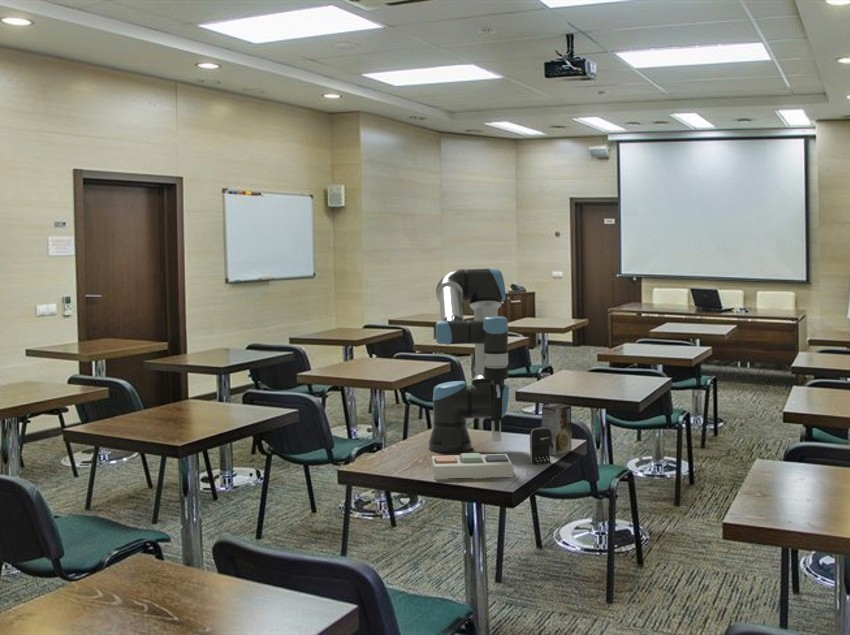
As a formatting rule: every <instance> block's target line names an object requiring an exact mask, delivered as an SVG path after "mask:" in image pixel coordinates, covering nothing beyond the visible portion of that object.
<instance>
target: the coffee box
mask: <svg viewBox="0 0 850 635" xmlns="http://www.w3.org/2000/svg"><path fill="white" fill-rule="evenodd" d="M543 427H545V428H547V429H550V430H551V433H552V444H550V446H549V455H551V456H558V455H562V454H566V453H569V452H571V451H572V450H573V449H572V405H569V404H564V403H558V402H557V403H553V404H549V405H548V404H547V405H544V406H541V428H543Z"/></svg>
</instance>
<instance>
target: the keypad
mask: <svg viewBox="0 0 850 635" xmlns="http://www.w3.org/2000/svg"><path fill="white" fill-rule="evenodd" d="M480 455H481V457H482V463H461V454H459V455H458V454H457V455H456V454H455V455H454V454H450V455H445V456H455V459H456V463H445V464H436V456H437V455H432V456H431V470H432V475H433V478H434V479H435V480H449V479H448V478H473V479H490V478H489V477H511V478H514V471H513V470H514V468H513V467H514V466H513V465H514V464H513V462H512V461H511V460H510V458H509V456H508V454H507V453H495V454H493V453H492V454H480ZM486 455H505V456H506V457H507V459H508V462H486ZM487 477H488V478H487Z"/></svg>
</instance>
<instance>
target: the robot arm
mask: <svg viewBox="0 0 850 635" xmlns="http://www.w3.org/2000/svg"><path fill="white" fill-rule="evenodd" d="M435 296H436V298H437V301H438V302H439V312H440V313H439V314H440V321H439V320H438V321H436V323H435V342H436V343H437V344H438V345H474V354H475V358H474V359H475V361H474V362H475V376H474V377H473V378H472V379H471V385H467V382H466V381H464V380H455V381H454V380H453V381H448V382H442V383H439V384H437V385H434V388H433V394H432V396H433V397H432V401H433V402H432V403H433V405H432V406H433V408H432V409H433V411H432V412H433V413H432V414H433V417H432V418H433V427H432V431H431V434H430V437H429V441H428V449H429V450H430V451H433V452H437V453H438V452H440V453H460V452H466V451H469V450H471V449H472V446H473V445H472V439H471V437H470V434H469V431H468V427H467V419H490V422H491V441H492V442H502V421H503V418H504V417H505V416H506V414H507V411H508V407H509V406H508V405H509V404H508V403H509V397H510V396H509V395H510V385H508V384H505V380H507V379H508V378H509V367H508V365H509V352H508V351H509V350H508V349H509V345H508V342H509V325H508V318H507V317H506V316H500V315H499V313H498V312H499V311H498V310H499V309H500V308H501V307H502V302H504V301H505V300H506V284H505V279H504V276H503V273H502V271H501V270H500V269H497V268H473V269H472V268H471V269H470V268H459V269H454V270H452V271H450V272H448V273H446V274H445V275H444V276H443V277H442V278H441V279H440V280H439V281H438V283H437V285H436V289H435ZM462 302H468V303H469V307H470V309H471V310H473V320H464V313H463V311H464V310H463V305H462Z"/></svg>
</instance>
